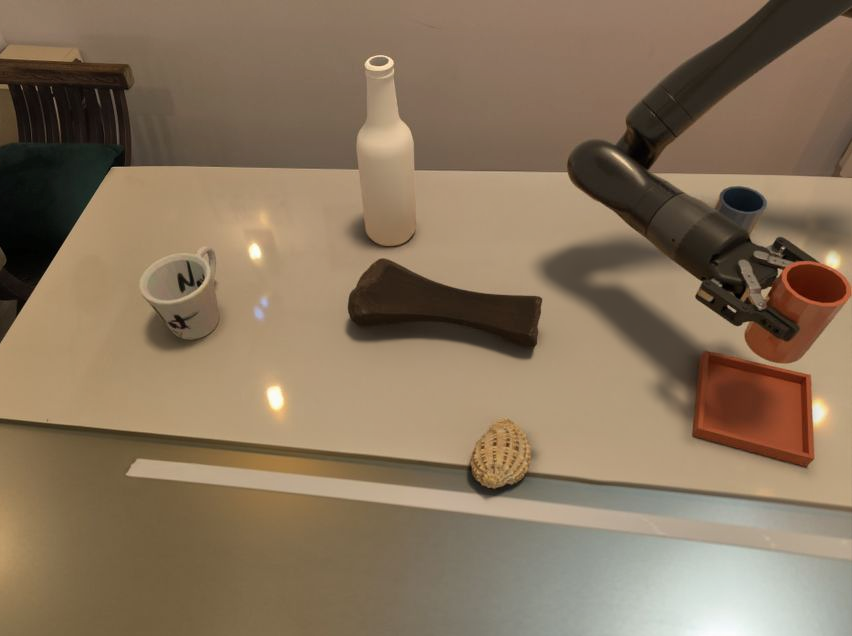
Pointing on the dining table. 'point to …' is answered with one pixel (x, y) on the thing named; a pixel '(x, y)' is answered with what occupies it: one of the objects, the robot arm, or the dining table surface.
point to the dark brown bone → (440, 304)
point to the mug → (183, 292)
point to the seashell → (501, 455)
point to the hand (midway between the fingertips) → (816, 320)
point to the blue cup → (741, 206)
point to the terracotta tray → (755, 408)
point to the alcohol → (386, 160)
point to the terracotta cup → (800, 309)
